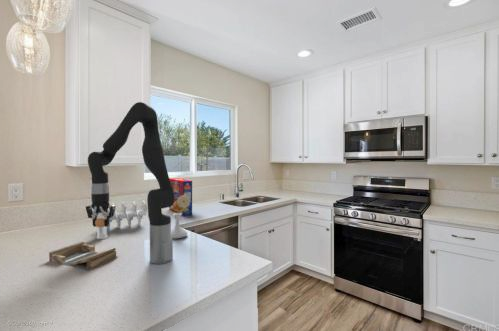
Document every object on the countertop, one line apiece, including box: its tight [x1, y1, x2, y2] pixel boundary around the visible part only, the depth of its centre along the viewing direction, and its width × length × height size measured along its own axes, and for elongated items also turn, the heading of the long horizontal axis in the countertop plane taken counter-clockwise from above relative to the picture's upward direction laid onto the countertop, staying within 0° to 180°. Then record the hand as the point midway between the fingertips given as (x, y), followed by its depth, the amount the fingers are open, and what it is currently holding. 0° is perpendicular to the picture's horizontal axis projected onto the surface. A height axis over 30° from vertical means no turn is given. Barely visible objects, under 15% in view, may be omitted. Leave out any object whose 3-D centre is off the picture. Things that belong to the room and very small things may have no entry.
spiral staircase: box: [108, 200, 148, 231], centre depth 163 cm, size 18×18×25 cm
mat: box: [62, 250, 119, 272], centre depth 114 cm, size 25×15×1 cm, turn 69°
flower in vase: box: [171, 195, 190, 239], centre depth 146 cm, size 13×11×25 cm
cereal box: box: [168, 177, 193, 217], centre depth 208 cm, size 28×8×28 cm, turn 40°
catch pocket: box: [48, 241, 96, 265], centre depth 116 cm, size 9×15×4 cm, turn 160°
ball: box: [95, 217, 105, 228], centre depth 122 cm, size 5×5×5 cm
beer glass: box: [96, 212, 109, 240], centre depth 143 cm, size 7×7×15 cm
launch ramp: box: [71, 247, 117, 270], centre depth 111 cm, size 14×12×6 cm
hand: (101, 226), depth 122 cm, fingers closed on ball, 5 cm apart
